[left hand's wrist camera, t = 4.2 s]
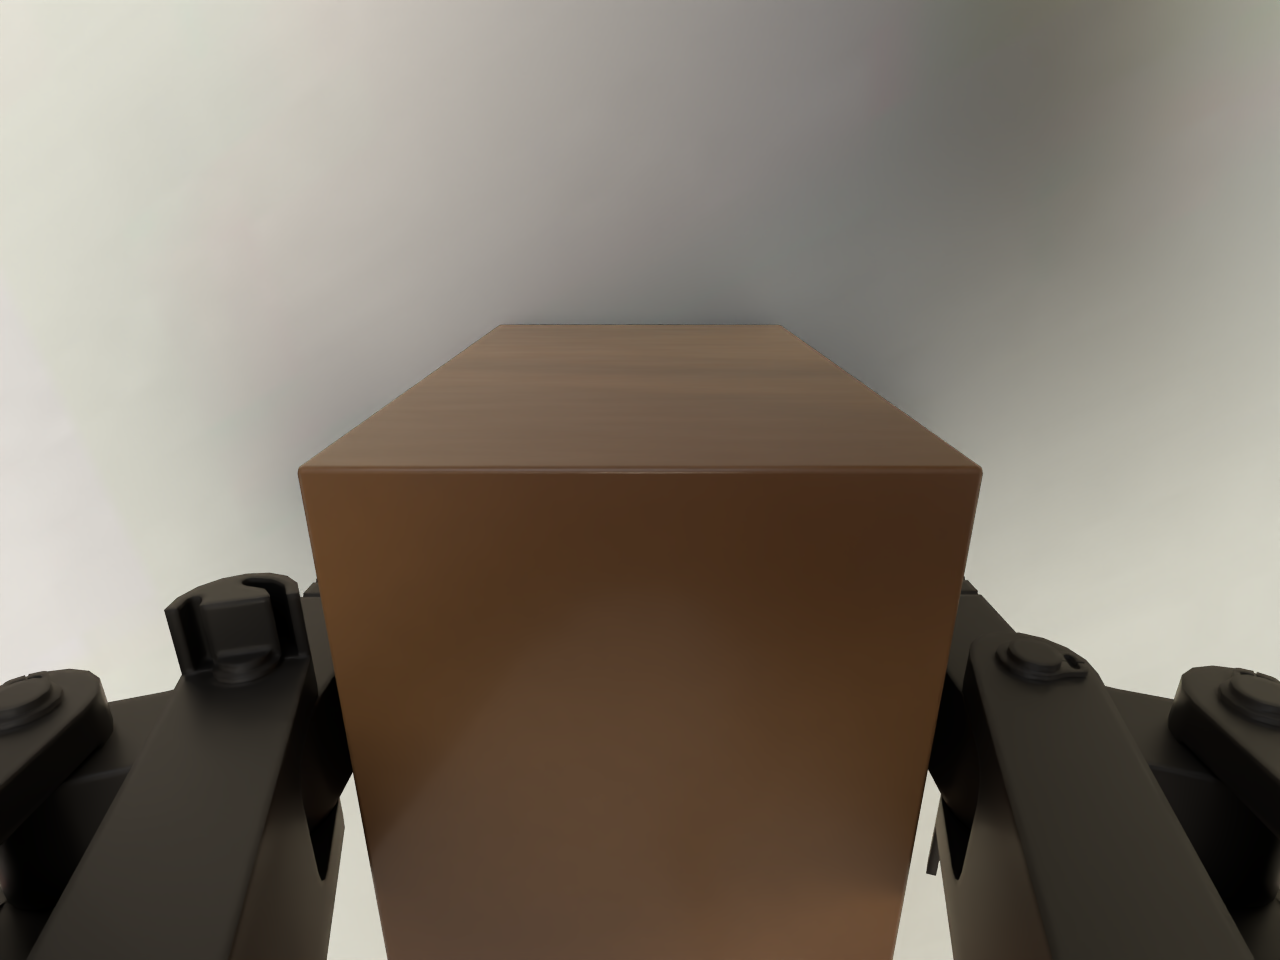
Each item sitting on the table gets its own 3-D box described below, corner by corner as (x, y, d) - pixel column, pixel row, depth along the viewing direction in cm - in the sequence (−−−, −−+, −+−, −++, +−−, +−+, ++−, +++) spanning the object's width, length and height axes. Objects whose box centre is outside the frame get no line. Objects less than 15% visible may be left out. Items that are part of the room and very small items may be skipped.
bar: (498, 324, 13) (293, 466, 5) (781, 324, 13) (986, 468, 5) (549, 1045, 21) (494, 1544, 13) (730, 1045, 21) (785, 1543, 13)
